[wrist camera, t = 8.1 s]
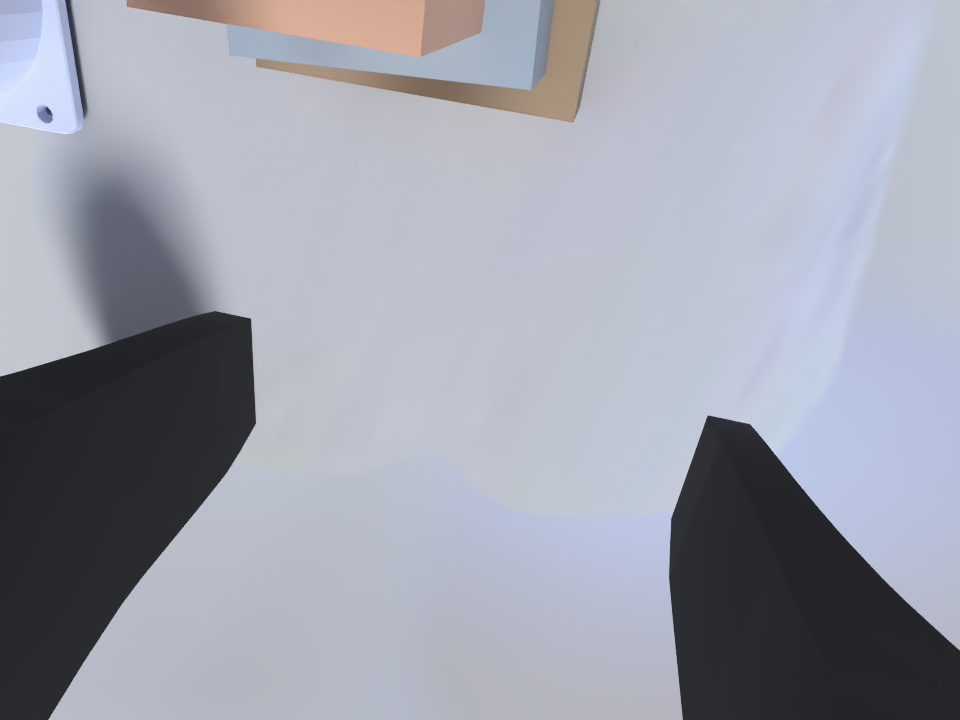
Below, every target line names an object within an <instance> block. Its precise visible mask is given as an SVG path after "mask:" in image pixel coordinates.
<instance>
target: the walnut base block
mask: <svg viewBox="0 0 960 720" xmlns="http://www.w3.org/2000/svg"><path fill="white" fill-rule="evenodd" d="M599 4H600V0H554V5H553V14H552V22H551V31H550V39H549V48H548V56H547V65H546V73H545V75H544V76H543V77H542V79H541V80H540V81H539V82H538V83H537V84H536V85H535V86H534V87H533V89H532V90H525V89H516V88H507V87H499V86H490V85H481V84H473V83H464V82H455V81H447V80H438V79H429V78H421V77H412V76H404V75H395V74H386V73H378V72H369V71H360V70H352V69H343V68H334V67H326V66H317V65H308V64H300V63H291V62H283V61H274V60H265V59H257V58H256V67H262V68H267V69H273V70H279V71H284V72H290V73H296V74H301V75H307V76H313V77H318V78H324V79H330V80H335V81H341V82H347V83H352V84H358V85H364V86H369V87H375V88H381V89H386V90H392V91H398V92H403V93H409V94H415V95H420V96H426V97H432V98H437V99H443V100H449V101H454V102H460V103H466V104H471V105H477V106H483V107H488V108H494V109H500V110H505V111H511V112H517V113H522V114H528V115H534V116H539V117H545V118H551V119H556V120H562V121H568V122H574V119H575V117H576V115H577V112H578V110H579V107H580V102H581V97H582V92H583V87H584V82H585V76H586V71H587V66H588V61H589V56H590V51H591V46H592V40H593V35H594V30H595V25H596V20H597V15H598V9H599Z"/></svg>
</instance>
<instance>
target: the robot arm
mask: <svg viewBox="0 0 960 720" xmlns="http://www.w3.org/2000/svg"><path fill="white" fill-rule="evenodd" d="M46 106H47V107H48V108H49V109H50V110H51V112H52V114H53V119H51V118H50V117H49V116H48V113H47V111H46ZM0 122H3V123H8V124H14V125H19V126H24V127H30V128H35V129H40V130H46V131H51V132H56V133H62V134H71V133H74V132H77V131H79V130H80V129H81V128H82V126H83V124H84V117H83V110H82V104H81V98H80V91H79V85H78V79H77V72H76V66H75V60H74V53H73V47H72V41H71V34H70V28H69V22H68V15H67V9H66V3H65V0H0ZM255 424H256V415H255V394H254V373H253V352H252V330H251V319H249V318H245V317H240V316H235V315H231V314H226V313H221V312H216V311H214V312H210V313H205V314H201V315H197V316H193V317H190V318H187V319H183V320H180V321H177V322H174V323H171V324H167V325H164V326H161V327H158V328H155V329H152V330H149V331H146V332H143V333H140V334H137V335H134V336H131V337H128V338H125V339H122V340H119V341H116V342H113V343H110V344H107V345H104V346H101V347H98V348H95V349H92V350H89V351H86V352H83V353H79V354H76V355H73V356H69V357H66V358H63V359H59V360H56V361H53V362H49V363H46V364H43V365H39V366H36V367H33V368H29V369H26V370H23V371H19V372H16V373H12V374H8V375H5V376H1V377H0V720H48V719H49V718H50V716H51V714H52V713H53V711H54V709H55V708H56V706H57V705H58V703H59V701H60V700H61V698H62V696H63V695H64V693H65V692H66V690H67V688H68V687H69V685H70V683H71V682H72V680H73V678H74V677H75V675H76V674H77V672H78V670H79V669H80V667H81V666H82V664H83V662H84V661H85V659H86V658H87V656H88V655H89V653H90V651H91V650H92V649H93V647H94V646H95V644H96V643H97V641H98V640H99V638H100V636H101V635H102V633H103V632H104V630H105V629H106V627H107V626H108V624H109V623H110V621H111V620H112V618H113V617H114V615H115V614H116V612H117V611H118V609H119V608H120V606H121V605H122V603H123V602H124V600H125V599H126V598H127V597H128V595H129V594H130V593H131V591H132V590H133V589H134V587H135V586H136V585H137V583H138V582H139V580H140V579H141V578H142V577H143V575H144V574H145V573H146V572H147V570H148V569H149V568H150V567H151V566H152V564H153V563H154V562H155V561H156V560H157V558H158V557H159V556H160V555H161V553H162V552H163V551H164V550H165V549H166V547H167V546H168V545H169V543H170V542H171V541H172V540H173V539H174V538H175V536H176V535H177V534H178V533H179V531H180V530H181V529H182V528H183V527H184V525H185V524H186V523H187V522H188V521H189V519H190V518H191V517H192V516H193V514H194V513H195V512H196V511H197V509H198V508H199V507H200V506H201V504H202V503H203V502H204V501H205V499H206V498H207V497H208V496H209V494H210V493H211V492H212V491H213V489H214V488H215V487H216V486H217V484H218V483H219V482H220V481H221V479H222V478H223V477H224V475H225V474H226V473H227V471H228V470H229V468H230V467H231V465H232V463H233V462H234V460H235V459H236V457H237V455H238V454H239V452H240V451H241V449H242V447H243V445H244V443H245V442H246V440H247V438H248V436H249V435H250V433H251V431H252V429H253V428H254V426H255ZM669 579H670V580H669V581H670V592H671V602H672V614H673V624H674V634H675V644H676V655H677V664H678V674H679V685H680V695H681V704H682V715H683V720H960V650H959V649H957V648H956V647H955V646H954V645H953V644H952V643H950V642H949V641H948V640H947V639H946V638H945V637H944V636H943V635H942V634H940V633H939V632H938V631H937V630H936V629H935V628H934V627H933V626H932V625H931V624H930V623H929V622H927V621H926V620H925V619H924V618H923V617H922V616H921V615H920V614H919V613H918V612H917V611H915V609H913V608H912V607H911V606H910V605H909V604H908V603H907V602H906V601H905V600H904V599H903V598H902V597H901V596H899V594H898V593H896V592H895V590H894V589H893V588H892V587H890V586H889V585H888V584H887V583H886V582H885V581H884V580H883V579H882V578H881V576H880V575H879V574H878V573H877V572H876V571H875V570H874V569H873V568H872V567H871V566H870V565H869V564H868V563H867V562H866V561H865V560H864V558H863V557H862V556H861V555H860V554H859V553H858V552H857V551H856V550H855V549H854V548H853V547H852V546H851V545H850V544H849V543H848V541H847V540H846V539H845V538H844V537H843V536H842V535H841V534H840V532H839V531H838V530H837V529H836V528H835V527H834V526H833V525H832V523H831V522H830V521H829V520H828V519H827V518H826V516H825V515H824V514H823V513H822V512H821V511H820V510H819V508H818V507H817V506H816V505H815V503H814V502H813V501H812V500H811V499H810V497H809V496H808V495H807V494H806V493H805V491H804V490H803V489H802V488H801V486H800V485H799V484H798V483H797V482H796V480H795V479H794V478H793V477H792V475H791V474H790V473H789V472H788V470H787V469H786V468H785V466H784V465H783V464H782V463H781V461H780V460H779V459H778V458H777V456H776V455H775V454H774V453H773V451H772V450H771V449H770V448H769V446H768V445H767V444H766V443H765V441H764V440H763V439H762V438H761V436H760V435H759V434H758V433H757V432H756V431H755V429H754V428H753V427H752V426H751V425H750V424H746V423H741V422H736V421H732V420H727V419H722V418H718V417H713V416H708V417H707V419H706V422H705V425H704V428H703V431H702V434H701V436H700V439H699V442H698V445H697V448H696V451H695V453H694V456H693V459H692V462H691V465H690V468H689V470H688V473H687V476H686V479H685V482H684V484H683V487H682V490H681V493H680V496H679V499H678V501H677V504H676V507H675V510H674V513H673V516H672V519H671V539H670V569H669Z"/></svg>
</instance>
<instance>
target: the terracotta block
mask: <svg viewBox="0 0 960 720" xmlns="http://www.w3.org/2000/svg"><path fill="white" fill-rule="evenodd" d="M126 1H127V7H132V8H138V9H144V10H150V11H155V12H161V13H167V14H173V15H179V16H184V17H190V18H196V19H202V20H208V21H213V22H219V23H225V24H231V25H237V26H243V27H248V28H254V29H260V30H266V31H272V32H277V33H283V34H289V35H295V36H301V37H306V38H312V39H318V40H324V41H330V42H335V43H341V44H347V45H353V46H359V47H365V48H370V49H376V50H382V51H388V52H394V53H399V54H405V55H411V56H417V57H422V56H425V55H427V54H430V53H432V52H434V51H437V50H439V49H442V48H444V47H447V46H449V45H452V44H454V43H457V42H459V41H462V40H464V39H467V38H469V37H472V36H474V35H477V34H479V33H481V30H482V22H483V14H484V5H485V0H126Z"/></svg>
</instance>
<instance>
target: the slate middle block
mask: <svg viewBox="0 0 960 720" xmlns="http://www.w3.org/2000/svg"><path fill="white" fill-rule="evenodd" d="M553 5H554V0H485V5H484V14H483V22H482V30H481V33H479V34H477V35H474V36H472V37H469V38H467V39H464V40H462V41H459V42H457V43H454V44H452V45H449V46H447V47H444V48H442V49H439V50H437V51H434V52H432V53H430V54H427V55H425V56H422V57H417V56H411V55H405V54H399V53H394V52H388V51H382V50H376V49H370V48H365V47H359V46H353V45H347V44H341V43H335V42H330V41H324V40H318V39H312V38H306V37H301V36H295V35H289V34H283V33H277V32H272V31H266V30H260V29H254V28H248V27H243V26H237V25H231V24H227V29H228V40H229V51H230V55H231V56H239V57H248V58H257V59H265V60H274V61H283V62H291V63H300V64H308V65H317V66H326V67H334V68H343V69H352V70H360V71H369V72H378V73H386V74H395V75H404V76H412V77H421V78H429V79H438V80H447V81H455V82H464V83H473V84H481V85H490V86H499V87H507V88H516V89H525V90H532V89H533V87H534V86H535V85H536V84H537V83H538V82H539V81H540V80H541V79H542V77H543V76H544V75H545V73H546V65H547V56H548V48H549V39H550V31H551V22H552V14H553Z"/></svg>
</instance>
